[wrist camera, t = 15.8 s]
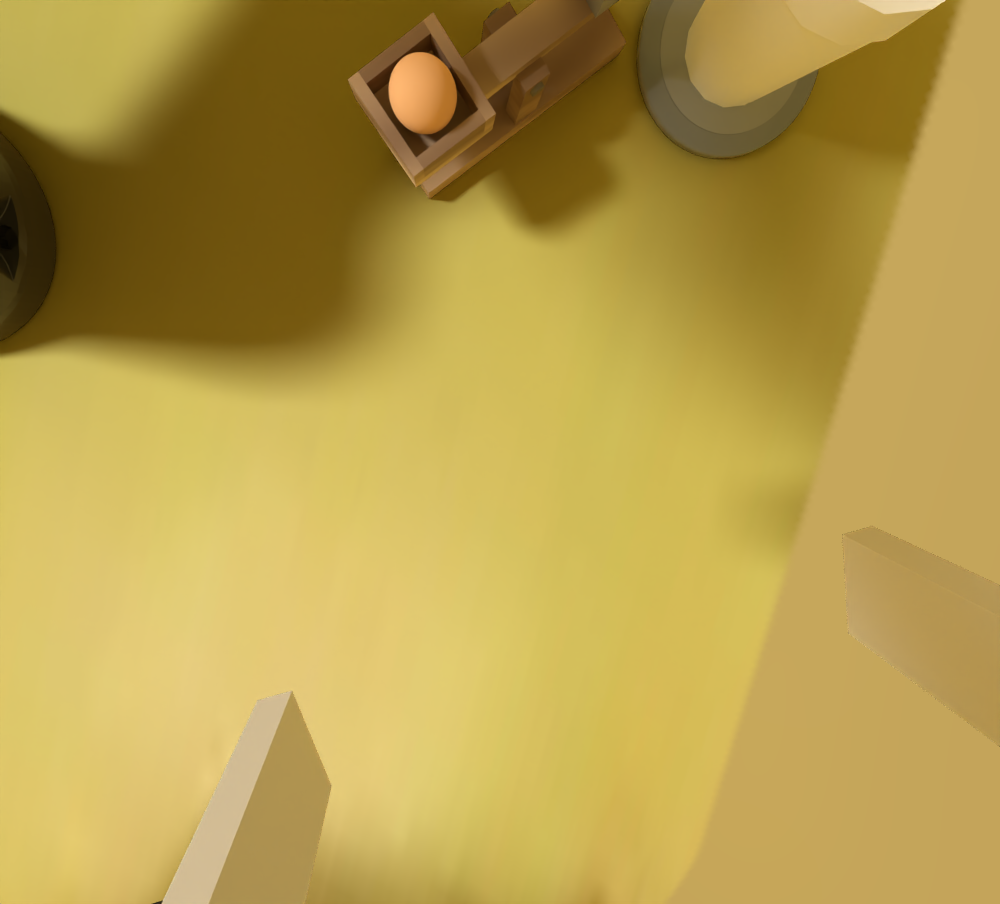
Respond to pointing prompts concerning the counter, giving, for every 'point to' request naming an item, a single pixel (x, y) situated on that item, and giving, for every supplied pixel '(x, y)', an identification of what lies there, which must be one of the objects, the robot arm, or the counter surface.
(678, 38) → the coaster
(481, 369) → the counter surface
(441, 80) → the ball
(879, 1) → the foam cup
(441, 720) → the counter surface
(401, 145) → the catapult
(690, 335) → the counter surface
